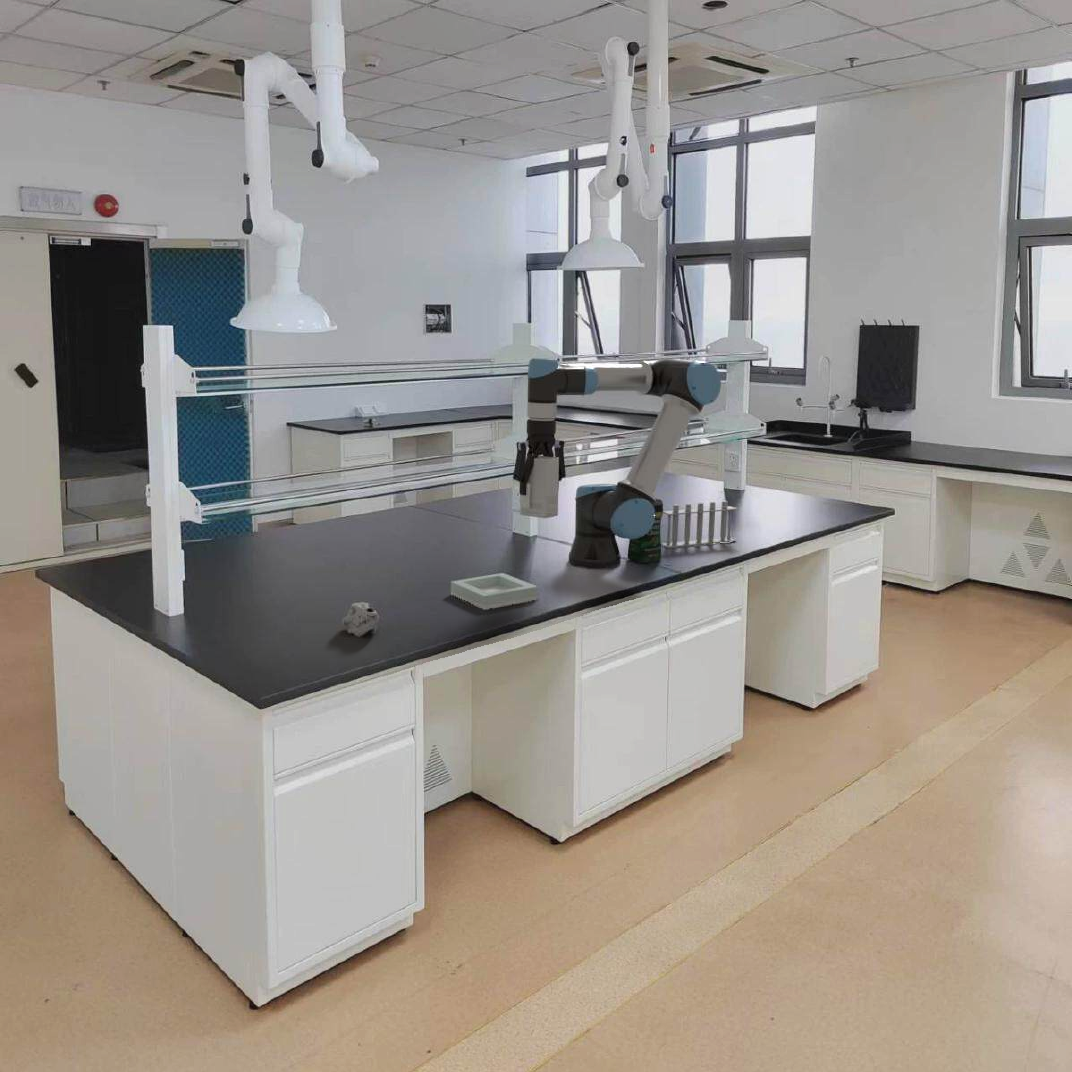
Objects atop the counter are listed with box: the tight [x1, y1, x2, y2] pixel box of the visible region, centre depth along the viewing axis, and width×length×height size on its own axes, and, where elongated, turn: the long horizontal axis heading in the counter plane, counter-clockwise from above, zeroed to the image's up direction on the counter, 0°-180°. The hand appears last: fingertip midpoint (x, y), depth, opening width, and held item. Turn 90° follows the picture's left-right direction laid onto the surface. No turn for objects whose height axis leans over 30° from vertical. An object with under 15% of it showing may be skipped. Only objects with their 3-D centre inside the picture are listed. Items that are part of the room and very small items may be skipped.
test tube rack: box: [661, 500, 739, 549], centre depth 324 cm, size 25×4×13 cm, turn 113°
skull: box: [341, 601, 380, 638], centre depth 234 cm, size 8×9×12 cm
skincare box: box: [519, 455, 559, 519], centre depth 269 cm, size 8×7×16 cm
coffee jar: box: [627, 497, 664, 564], centre depth 301 cm, size 10×8×19 cm
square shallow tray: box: [450, 572, 539, 610], centre depth 264 cm, size 16×16×4 cm
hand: (538, 506), depth 270 cm, fingers closed on skincare box, 8 cm apart
